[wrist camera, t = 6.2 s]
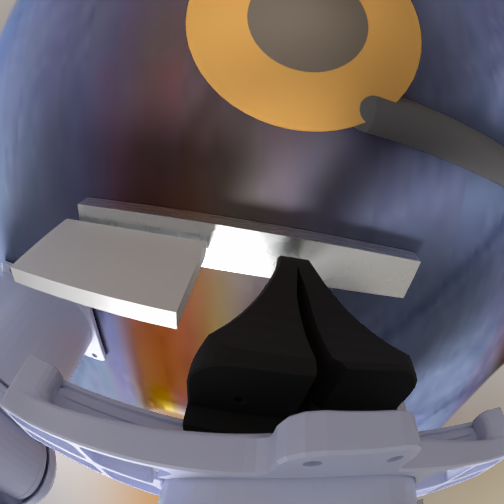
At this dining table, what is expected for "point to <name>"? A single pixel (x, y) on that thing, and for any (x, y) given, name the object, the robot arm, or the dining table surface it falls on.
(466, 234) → the dining table surface
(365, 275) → the rail
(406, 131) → the grey rounded rod
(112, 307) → the panel
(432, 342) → the dining table surface
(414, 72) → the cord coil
